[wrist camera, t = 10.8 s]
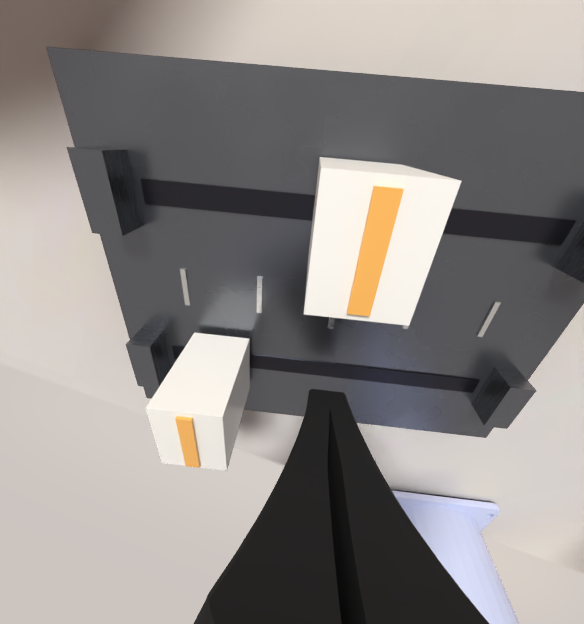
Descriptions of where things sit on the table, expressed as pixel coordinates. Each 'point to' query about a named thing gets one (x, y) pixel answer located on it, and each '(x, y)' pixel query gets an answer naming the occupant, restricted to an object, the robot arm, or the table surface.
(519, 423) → the table surface
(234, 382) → the far fader
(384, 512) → the robot arm
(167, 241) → the console
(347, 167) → the near fader
